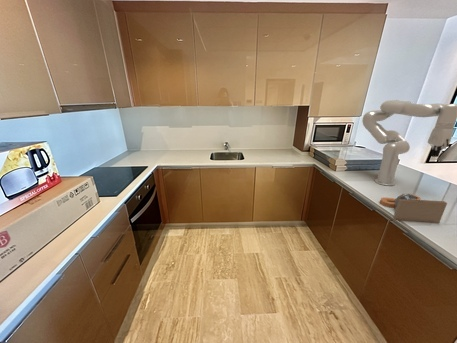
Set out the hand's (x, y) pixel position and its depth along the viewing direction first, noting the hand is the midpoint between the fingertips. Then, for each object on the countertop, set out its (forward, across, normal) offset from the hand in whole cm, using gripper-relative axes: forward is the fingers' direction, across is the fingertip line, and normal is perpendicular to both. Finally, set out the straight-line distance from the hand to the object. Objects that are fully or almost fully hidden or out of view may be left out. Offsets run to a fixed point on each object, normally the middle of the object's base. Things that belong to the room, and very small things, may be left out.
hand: (434, 156), depth 119 cm
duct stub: (+27, +26, -22) cm, 43 cm away
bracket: (+28, +16, -22) cm, 39 cm away
